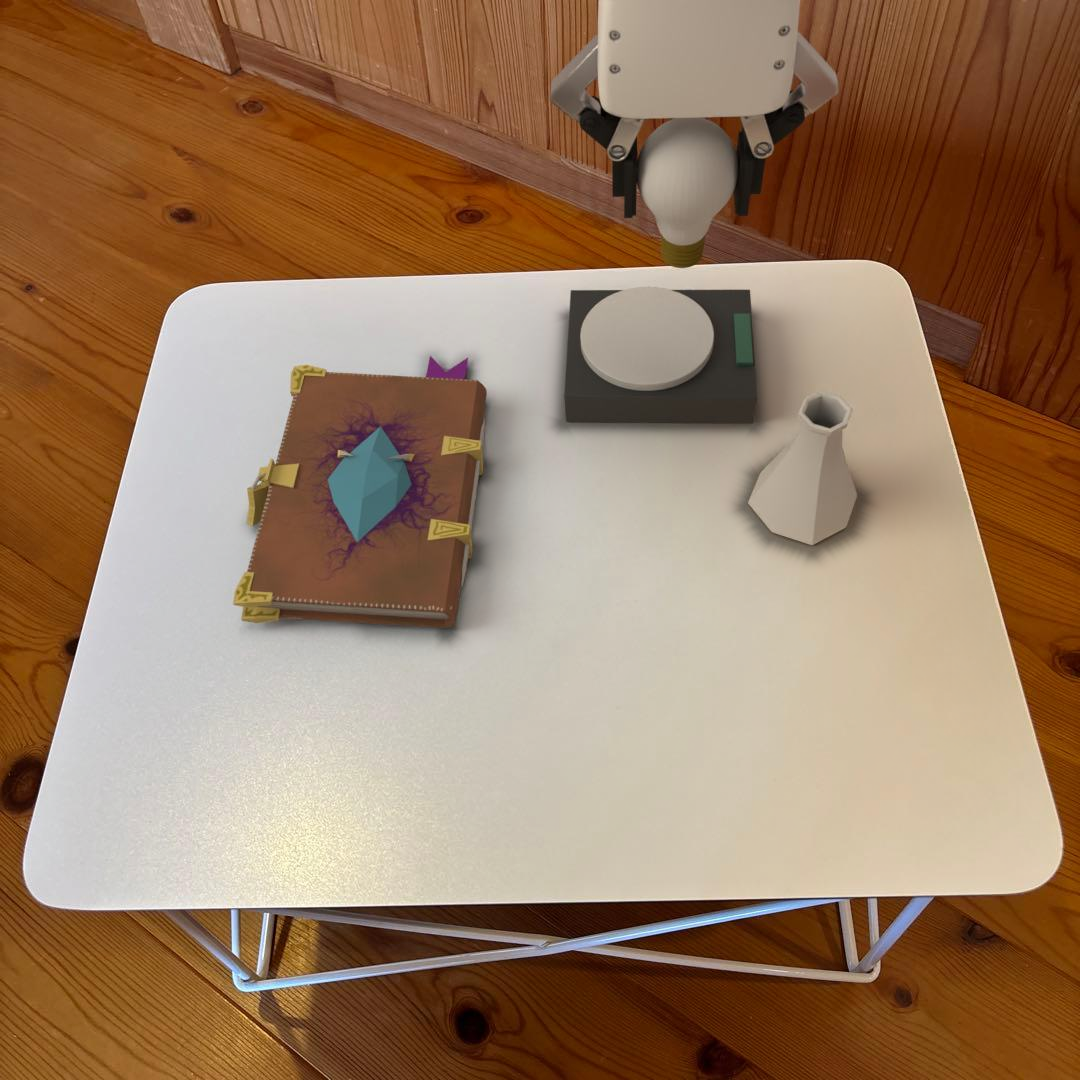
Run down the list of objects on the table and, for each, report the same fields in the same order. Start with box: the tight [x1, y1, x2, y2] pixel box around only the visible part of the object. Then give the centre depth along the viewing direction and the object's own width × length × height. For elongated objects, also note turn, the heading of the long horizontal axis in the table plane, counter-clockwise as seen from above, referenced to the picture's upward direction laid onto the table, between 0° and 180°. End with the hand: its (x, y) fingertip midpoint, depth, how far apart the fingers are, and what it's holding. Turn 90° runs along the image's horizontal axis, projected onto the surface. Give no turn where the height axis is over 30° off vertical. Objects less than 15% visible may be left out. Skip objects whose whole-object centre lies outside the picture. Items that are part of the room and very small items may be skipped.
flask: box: [747, 390, 858, 546], centre depth 69 cm, size 7×7×10 cm
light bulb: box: [637, 117, 738, 269], centre depth 62 cm, size 6×6×10 cm
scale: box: [563, 286, 758, 424], centre depth 79 cm, size 14×11×4 cm
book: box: [232, 355, 488, 629], centre depth 75 cm, size 16×25×5 cm, turn 176°
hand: (684, 199), depth 62 cm, fingers closed on light bulb, 5 cm apart
